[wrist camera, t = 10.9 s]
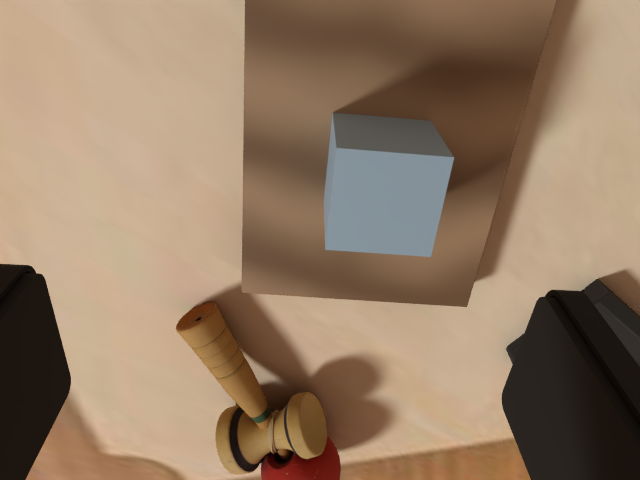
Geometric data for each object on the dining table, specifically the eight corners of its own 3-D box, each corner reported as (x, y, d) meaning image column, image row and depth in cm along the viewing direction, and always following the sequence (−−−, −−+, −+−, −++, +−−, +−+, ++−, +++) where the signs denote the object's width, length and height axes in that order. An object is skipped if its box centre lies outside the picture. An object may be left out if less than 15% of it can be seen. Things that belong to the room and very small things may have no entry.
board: (250, -45, 24) (245, -43, 22) (543, -16, 25) (560, -13, 23) (245, 274, 33) (241, 292, 31) (459, 288, 34) (466, 306, 32)
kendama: (151, 318, 37) (271, 486, 43) (129, 366, 31) (273, 554, 37) (246, 268, 36) (354, 446, 42) (243, 308, 30) (370, 508, 36)
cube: (332, 112, 26) (336, 148, 21) (431, 120, 26) (454, 157, 22) (323, 202, 28) (325, 249, 24) (413, 208, 28) (430, 256, 24)
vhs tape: (501, 344, 37) (510, 364, 35) (594, 274, 34) (609, 292, 32) (614, 427, 42) (627, 448, 40) (705, 373, 39) (723, 393, 37)
